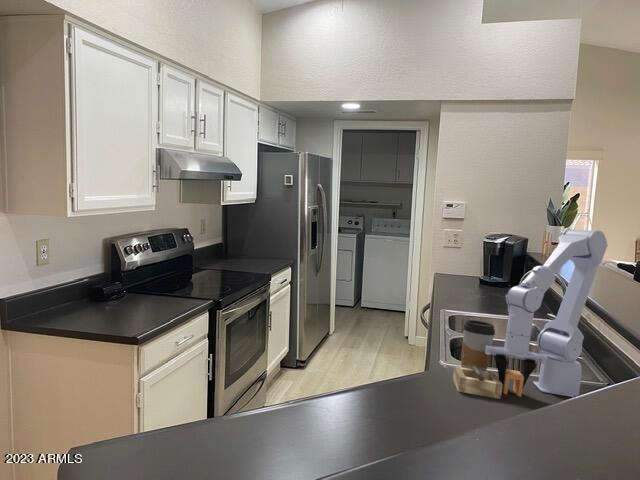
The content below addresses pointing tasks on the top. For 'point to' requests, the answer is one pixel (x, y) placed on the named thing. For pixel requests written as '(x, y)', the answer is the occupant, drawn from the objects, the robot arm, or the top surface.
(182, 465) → the top surface
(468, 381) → the shelf block
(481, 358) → the coffee cup
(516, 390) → the orange u-channel
